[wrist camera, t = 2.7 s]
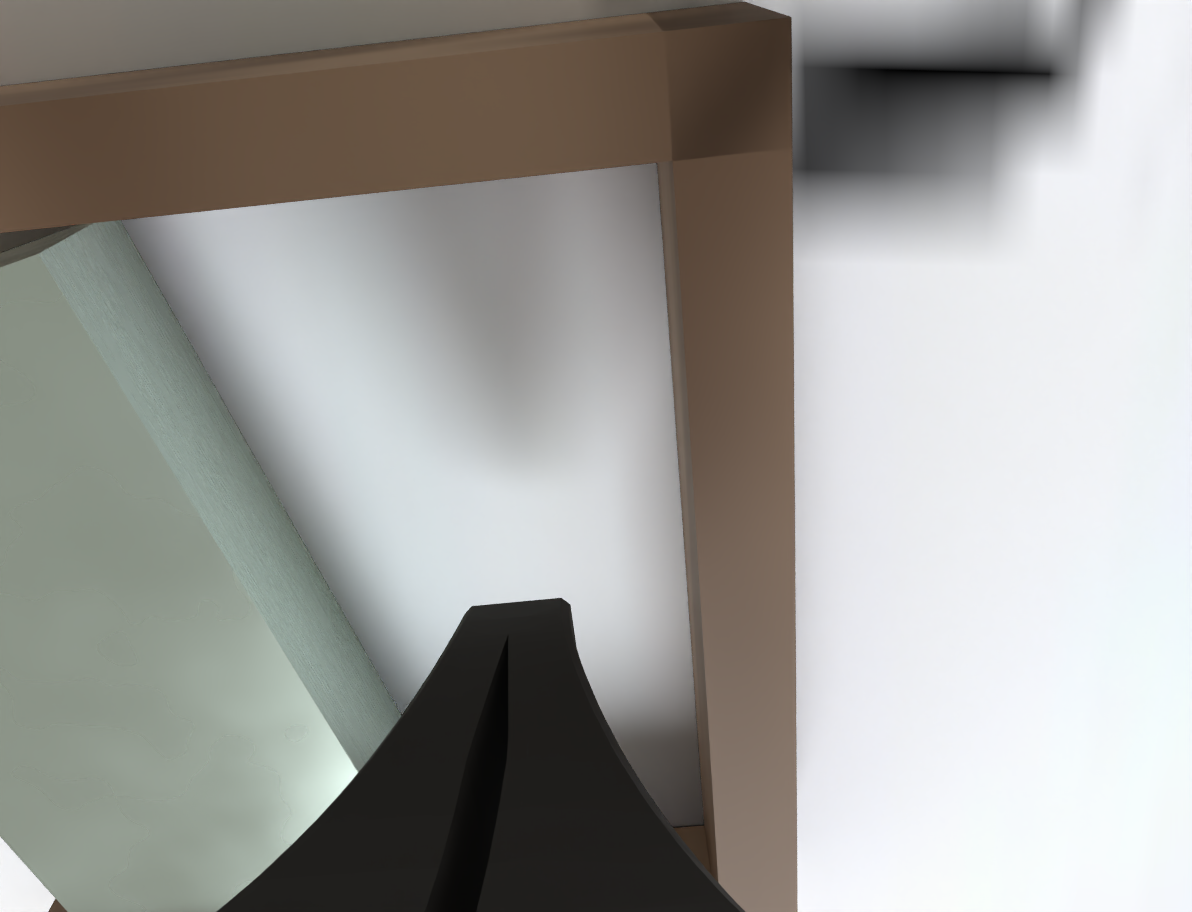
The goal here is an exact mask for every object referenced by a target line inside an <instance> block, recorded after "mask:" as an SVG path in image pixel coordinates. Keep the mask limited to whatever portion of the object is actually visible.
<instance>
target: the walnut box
mask: <svg viewBox="0 0 1192 912" xmlns="http://www.w3.org/2000/svg"><path fill="white" fill-rule="evenodd" d="M649 163H657V168H658V183H659V197H660V211H661V225H662V239H663V253H664V267H665V281H666V295H667V309H668V323H669V337H670V352H671V366H672V380H673V394H674V408H675V422H676V436H677V450H678V464H679V478H680V492H681V506H682V521H683V535H684V549H685V563H686V577H687V591H688V605H689V619H690V633H691V647H692V661H693V676H694V690H695V704H696V718H697V732H698V746H699V760H700V774H701V788H702V802H703V816H704V826H691V827H679V828H674V830H675V831H676V832H677V833H678V835H679V836H680V837H681V838H682V840H683V841H684V842H685V843H686V845H687V846H688V847H689V848H690V850H691V851H692V852H693V853H694V855H695V856H696V857H697V858H698V860H699V861H700V862H701V863H702V865H703V866H704V867H705V868H706V870H707V871H708V872H709V873H710V874H711V875H712V876H713V877H714V878H715V880H716V881H717V882H718V883H719V884H720V885H721V886H722V887H723V888H724V889H725V891H726V892H727V893H728V894H729V895H730V896H731V897H732V898H733V899H734V900H735V902H736V903H737V904H738V905H739V906H740V907H741V908H742V909H743V910H744V911H745V912H797V778H796V629H795V481H794V333H793V185H792V37H791V17H790V16H786V15H783V14H780V13H777V12H774V11H771V10H768V9H765V8H762V7H759V6H756V5H753V4H750V3H747V2H739V3H730V4H721V5H713V6H704V7H695V8H686V9H677V10H669V11H660V12H651V13H642V14H633V15H624V16H616V17H607V18H598V19H589V20H580V21H571V22H563V23H554V24H545V25H536V26H527V27H519V28H510V29H501V30H492V31H483V32H474V33H466V34H457V35H448V36H439V37H430V38H421V39H413V40H404V41H395V42H386V43H377V44H368V45H360V46H351V47H342V48H333V49H324V50H316V51H307V52H298V53H289V54H280V55H271V56H263V57H254V58H245V59H236V60H227V61H218V62H210V63H201V64H192V65H183V66H174V67H166V68H157V69H148V70H139V71H130V72H121V73H113V74H104V75H95V76H86V77H77V78H68V79H60V80H51V81H42V82H33V83H24V84H16V85H7V86H0V233H5V232H15V231H24V230H33V229H43V228H52V227H61V226H71V225H80V224H89V223H99V222H108V221H117V220H127V219H136V218H145V217H155V216H164V215H173V214H183V213H192V212H201V211H211V210H220V209H229V208H239V207H248V206H257V205H267V204H276V203H285V202H295V201H304V200H313V199H323V198H332V197H341V196H351V195H360V194H369V193H379V192H388V191H397V190H407V189H416V188H425V187H435V186H444V185H453V184H463V183H472V182H481V181H491V180H500V179H509V178H519V177H528V176H537V175H547V174H556V173H565V172H575V171H584V170H593V169H603V168H612V167H621V166H631V165H640V164H649ZM48 912H67V911H66V909H65V908H64V907H63V906H62V905H61V904H60V903H59V902H58V900H57V899H55V901H54V902H53V904H52V906H51V908H50V910H49V911H48Z"/></svg>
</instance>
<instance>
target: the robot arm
mask: <svg viewBox="0 0 1192 912" xmlns="http://www.w3.org/2000/svg"><path fill="white" fill-rule="evenodd" d="M216 912H745V911H744V910H743V909H742V908H741V907H740V906H739V905H738V904H737V903H736V902H735V900H734V899H733V898H732V897H731V896H730V895H729V894H728V893H727V892H726V891H725V889H724V888H723V887H722V886H721V885H720V884H719V883H718V882H717V881H716V880H715V878H714V877H713V876H712V875H711V874H710V873H709V872H708V871H707V870H706V868H705V867H704V866H703V865H702V863H701V862H700V861H699V860H698V858H697V857H696V856H695V855H694V853H693V852H692V851H691V850H690V848H689V847H688V846H687V845H686V843H685V842H684V841H683V840H682V838H681V837H680V836H679V835H678V833H677V832H676V831H675V830H674V828H673V827H672V826H671V825H670V823H669V822H668V821H667V819H666V818H665V817H664V815H663V814H662V812H661V811H660V809H659V808H658V807H657V805H656V804H655V802H654V801H653V799H652V798H651V797H650V795H649V794H648V792H647V791H646V789H645V787H644V786H643V784H642V783H641V781H640V780H639V778H638V777H637V775H636V773H635V772H634V770H633V769H632V767H631V765H630V764H629V762H628V760H627V759H626V757H625V755H624V753H623V752H622V750H621V748H620V746H619V745H618V743H617V741H616V739H615V737H614V735H613V733H612V731H611V729H610V727H609V726H608V724H607V722H606V720H605V718H604V716H603V714H602V711H601V709H600V707H599V705H598V703H597V701H596V698H595V696H594V694H593V691H592V689H591V687H590V684H589V682H588V679H587V677H586V675H585V672H584V669H583V667H582V664H581V661H580V658H579V655H578V651H577V648H576V641H575V634H574V627H573V620H572V613H571V606H570V604H569V603H567V602H566V601H565V600H563V599H562V598H555V599H545V600H534V601H523V602H512V603H502V604H491V605H480V606H472V607H471V608H470V609H469V610H468V611H467V612H466V613H465V615H464V617H463V618H462V620H461V622H460V624H459V626H458V627H457V629H456V631H455V633H454V634H453V636H452V638H451V640H450V641H449V643H448V645H447V646H446V648H445V650H444V651H443V653H442V655H441V656H440V658H439V660H438V661H437V663H436V664H435V666H434V668H433V669H432V671H431V673H430V674H429V676H428V677H427V679H426V680H425V682H424V683H423V685H422V686H421V688H420V689H419V691H418V692H417V694H416V695H415V697H414V698H413V700H412V701H411V703H410V704H409V706H408V707H407V709H406V710H405V712H404V713H403V714H402V716H401V717H400V719H399V720H398V721H397V723H396V724H395V725H394V727H393V728H392V729H391V731H390V732H389V733H388V735H387V736H386V737H385V739H384V740H383V741H382V743H381V744H380V745H379V747H378V748H377V749H376V751H375V752H374V753H373V755H372V756H371V757H370V759H369V760H368V761H367V762H366V764H365V765H364V766H363V767H362V769H361V770H360V771H359V772H358V773H357V775H356V776H355V777H354V778H353V779H352V781H351V782H350V783H349V784H348V785H347V786H346V788H345V789H344V790H343V791H342V792H341V793H340V795H339V796H338V797H337V798H336V799H335V800H334V801H333V802H332V803H331V804H330V806H329V807H328V808H327V809H326V810H325V811H324V812H323V813H322V814H321V815H320V817H319V818H318V819H317V820H316V821H315V822H314V823H313V824H312V825H311V826H310V827H309V828H308V829H307V830H306V831H305V832H304V833H303V834H302V835H301V836H300V837H299V838H298V839H297V840H296V841H295V842H294V843H293V844H292V845H291V846H290V847H289V848H288V849H287V850H285V851H284V852H283V853H282V854H281V855H280V856H279V857H278V858H277V859H276V860H275V861H274V862H273V863H272V864H271V865H270V866H269V867H268V868H267V869H266V870H264V871H263V872H262V873H261V874H260V875H259V876H258V877H257V878H256V879H254V880H253V881H252V882H251V883H250V884H249V885H248V886H246V887H245V888H244V889H243V890H242V891H240V892H239V893H238V894H237V895H236V896H235V897H233V898H232V899H231V900H230V901H229V902H228V903H226V904H225V905H224V906H223V907H221V908H220V909H219V910H218V911H216Z"/></svg>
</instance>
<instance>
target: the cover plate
mask: <svg viewBox="0 0 1192 912" xmlns="http://www.w3.org/2000/svg"><path fill="white" fill-rule="evenodd" d="M400 717H401V714H400V712H399V711H398V709H397V707H396V705H395V703H394V702H393V700H392V698H391V696H390V695H389V693H388V691H387V689H386V688H385V686H384V684H383V682H382V681H381V679H380V677H379V675H378V674H377V672H376V670H375V668H374V666H373V665H372V663H371V661H370V659H369V658H368V656H367V654H366V652H365V651H364V649H363V647H362V645H361V644H360V642H359V640H358V638H357V636H356V635H355V633H354V631H353V629H352V628H351V626H350V624H349V622H348V621H347V619H346V617H345V615H344V614H343V612H342V610H341V608H340V606H339V605H338V603H337V601H336V599H335V598H334V596H333V594H332V592H331V591H330V589H329V587H328V585H327V584H326V582H325V580H324V578H323V577H322V575H321V573H320V571H319V569H318V568H317V566H316V564H315V562H314V561H313V559H312V557H311V555H310V554H309V552H308V550H307V548H306V547H305V545H304V543H303V541H302V539H301V538H300V536H299V534H298V532H297V531H296V529H295V527H294V525H293V524H292V522H291V520H290V518H289V517H288V515H287V513H286V511H285V510H284V508H283V506H282V504H281V502H280V501H279V499H278V497H277V495H276V494H275V492H274V490H273V488H272V487H271V485H270V483H269V481H268V480H267V478H266V476H265V474H264V472H263V471H262V469H261V467H260V465H259V464H258V462H257V460H256V458H255V457H254V455H253V453H252V451H251V450H250V448H249V446H248V444H247V442H246V441H245V439H244V437H243V435H242V434H241V432H240V430H239V428H238V427H237V425H236V423H235V421H234V420H233V418H232V416H231V414H230V413H229V411H228V409H227V407H226V405H225V404H224V402H223V400H222V398H221V397H220V395H219V393H218V391H217V390H216V388H215V386H214V384H213V383H212V381H211V379H210V377H209V375H208V374H207V372H206V370H205V368H204V367H203V365H202V363H201V361H200V360H199V358H198V356H197V354H196V353H195V351H194V349H193V347H192V346H191V344H190V342H189V340H188V338H187V337H186V335H185V333H184V331H183V330H182V328H181V326H180V324H179V323H178V321H177V319H176V317H175V316H174V314H173V312H172V310H171V308H170V307H169V305H168V303H167V301H166V300H165V298H164V296H163V294H162V293H161V291H160V289H159V287H158V286H157V284H156V282H155V280H154V278H153V277H152V275H151V273H150V271H149V270H148V268H147V266H146V264H145V263H144V261H143V259H142V257H141V256H140V254H139V252H138V250H137V249H136V247H135V245H134V243H133V241H132V240H131V238H130V236H129V234H128V233H127V231H126V229H125V227H124V226H123V224H122V222H121V220H117V221H108V222H99V223H89V224H80V225H76V226H73V227H71V228H68V229H65V230H62V231H60V232H57V233H54V234H51V235H49V236H46V237H43V238H40V239H38V240H35V241H32V242H29V243H27V244H24V245H21V246H18V247H16V248H13V249H10V250H7V251H5V252H2V253H0V837H1V838H2V839H3V840H4V841H5V842H6V843H7V845H8V846H9V847H10V848H11V849H12V850H13V851H14V852H15V853H16V855H17V856H18V857H19V858H20V859H21V860H22V861H23V862H24V864H25V865H26V866H27V867H28V868H29V869H30V870H31V871H32V872H33V874H34V875H35V876H36V877H37V878H38V879H39V880H40V881H41V883H42V884H43V885H44V886H45V887H46V888H47V889H48V890H49V891H50V893H51V894H52V895H53V896H54V897H55V898H56V899H57V900H58V902H59V903H60V904H61V905H62V906H63V907H64V908H65V909H66V911H67V912H216V911H218V910H219V909H220V908H221V907H223V906H224V905H225V904H226V903H228V902H229V901H230V900H231V899H232V898H233V897H235V896H236V895H237V894H238V893H239V892H240V891H242V890H243V889H244V888H245V887H246V886H248V885H249V884H250V883H251V882H252V881H253V880H254V879H256V878H257V877H258V876H259V875H260V874H261V873H262V872H263V871H264V870H266V869H267V868H268V867H269V866H270V865H271V864H272V863H273V862H274V861H275V860H276V859H277V858H278V857H279V856H280V855H281V854H282V853H283V852H284V851H285V850H287V849H288V848H289V847H290V846H291V845H292V844H293V843H294V842H295V841H296V840H297V839H298V838H299V837H300V836H301V835H302V834H303V833H304V832H305V831H306V830H307V829H308V828H309V827H310V826H311V825H312V824H313V823H314V822H315V821H316V820H317V819H318V818H319V817H320V815H321V814H322V813H323V812H324V811H325V810H326V809H327V808H328V807H329V806H330V804H331V803H332V802H333V801H334V800H335V799H336V798H337V797H338V796H339V795H340V793H341V792H342V791H343V790H344V789H345V788H346V786H347V785H348V784H349V783H350V782H351V781H352V779H353V778H354V777H355V776H356V775H357V773H358V772H359V771H360V770H361V769H362V767H363V766H364V765H365V764H366V762H367V761H368V760H369V759H370V757H371V756H372V755H373V753H374V752H375V751H376V749H377V748H378V747H379V745H380V744H381V743H382V741H383V740H384V739H385V737H386V736H387V735H388V733H389V732H390V731H391V729H392V728H393V727H394V725H395V724H396V723H397V721H398V720H399V719H400Z"/></svg>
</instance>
